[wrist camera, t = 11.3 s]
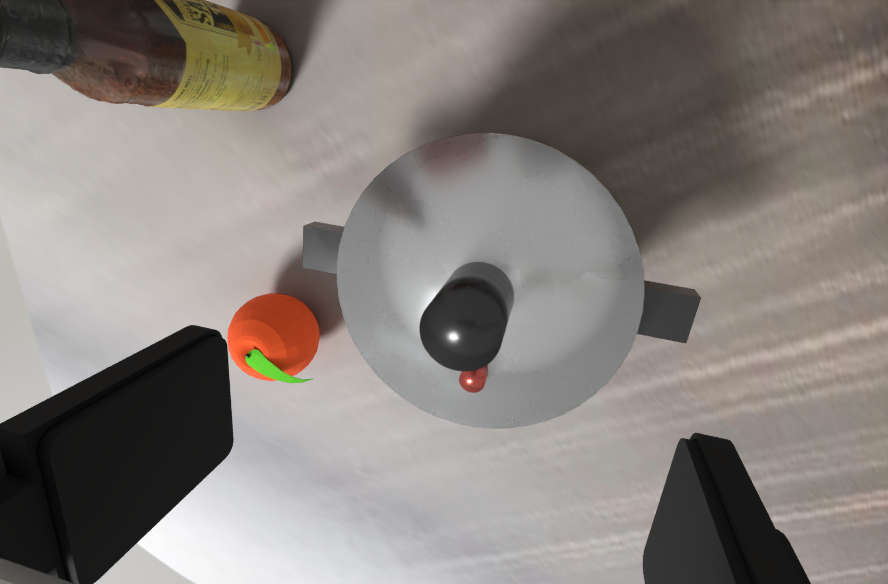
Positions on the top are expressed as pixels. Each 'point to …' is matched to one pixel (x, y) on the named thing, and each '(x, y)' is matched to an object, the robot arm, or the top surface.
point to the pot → (663, 304)
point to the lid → (490, 280)
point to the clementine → (273, 337)
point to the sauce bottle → (149, 51)
